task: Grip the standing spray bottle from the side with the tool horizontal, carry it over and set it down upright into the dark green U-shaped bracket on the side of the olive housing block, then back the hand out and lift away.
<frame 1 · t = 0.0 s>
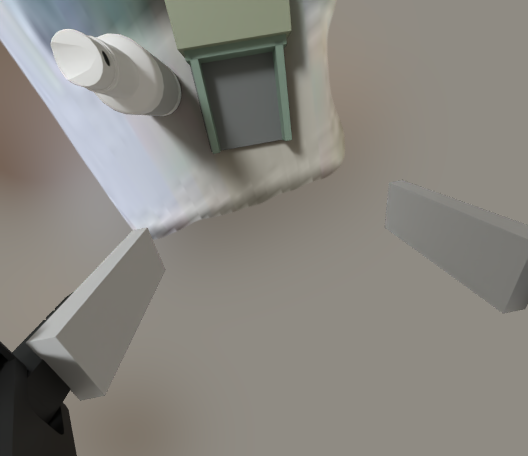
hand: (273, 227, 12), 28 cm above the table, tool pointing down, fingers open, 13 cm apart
spray bottle: (157, 90, 32), on the table
chute bracket: (243, 99, 34), on the table
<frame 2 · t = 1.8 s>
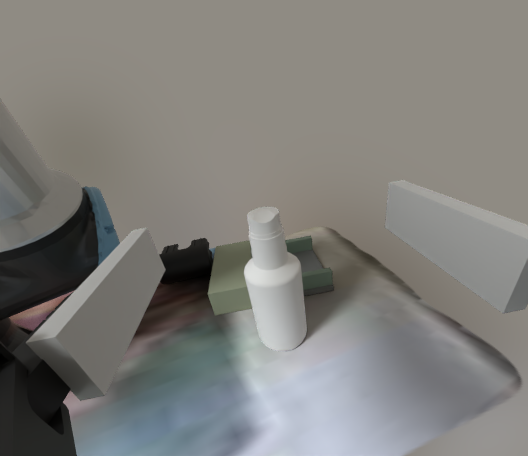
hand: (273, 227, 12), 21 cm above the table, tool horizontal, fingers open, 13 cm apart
spray bottle: (282, 330, 32), on the table
end cap: (192, 276, 46), on the table
chute bracket: (286, 273, 42), on the table
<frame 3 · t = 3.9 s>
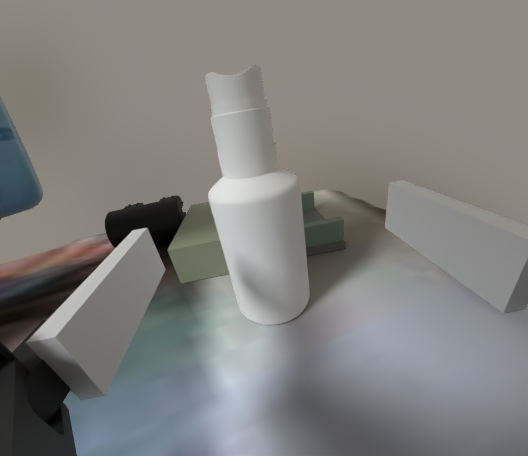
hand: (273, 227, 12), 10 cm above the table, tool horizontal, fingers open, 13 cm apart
spray bottle: (274, 298, 21), on the table
end cap: (161, 244, 36), on the table
chute bracket: (281, 234, 32), on the table
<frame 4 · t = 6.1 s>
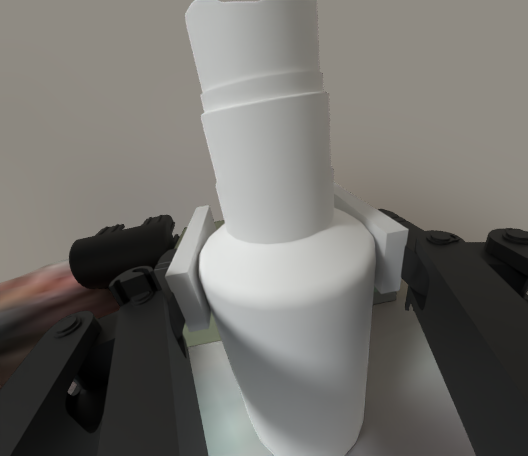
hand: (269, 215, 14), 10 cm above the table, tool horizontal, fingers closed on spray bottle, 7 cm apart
spray bottle: (303, 395, 14), on the table, touching gripper
end cap: (146, 276, 29), on the table
chute bracket: (301, 268, 25), on the table
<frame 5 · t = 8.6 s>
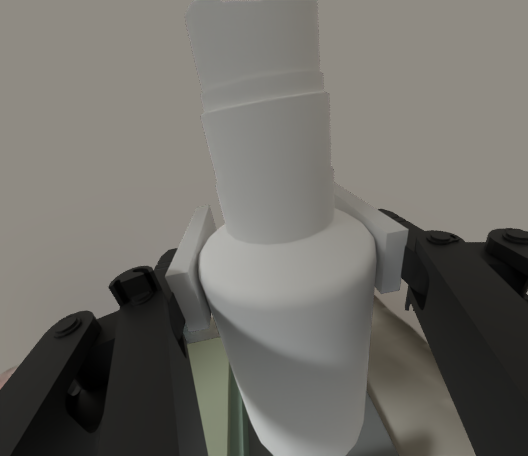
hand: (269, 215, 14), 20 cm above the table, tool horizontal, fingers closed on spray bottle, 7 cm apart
spray bottle: (303, 396, 14), point 10 cm above the table, touching gripper
chute bracket: (302, 417, 21), on the table
when the fingers open (12 cm above the table, at t = 11.2 s): spray bottle drops 1 cm, resting on chute bracket.
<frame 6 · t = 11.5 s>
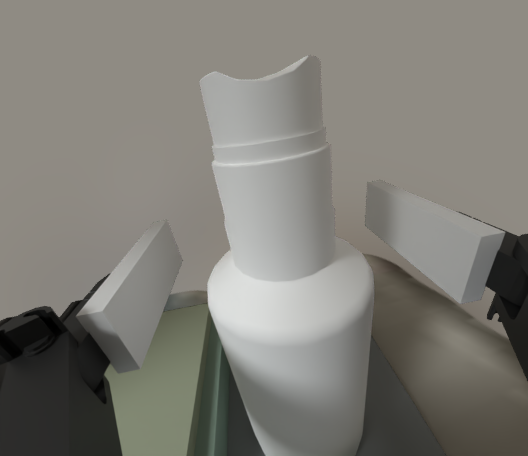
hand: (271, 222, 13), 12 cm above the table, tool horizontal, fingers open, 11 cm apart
spray bottle: (305, 408, 14), point 1 cm above the table, touching chute bracket
chute bracket: (305, 412, 15), on the table
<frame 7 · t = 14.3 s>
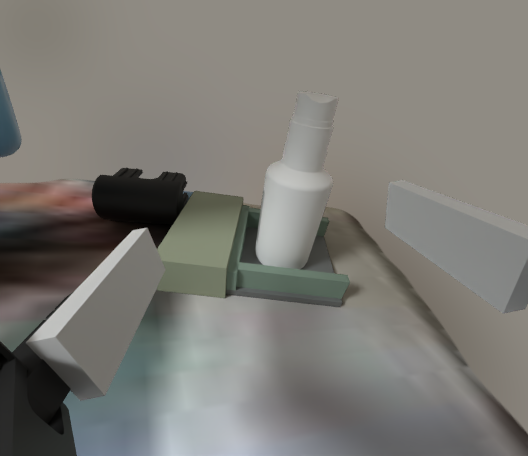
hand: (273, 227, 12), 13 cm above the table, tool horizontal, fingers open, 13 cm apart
spray bottle: (280, 255, 29), point 1 cm above the table, touching chute bracket
end cap: (151, 221, 33), on the table
chute bracket: (280, 258, 30), on the table
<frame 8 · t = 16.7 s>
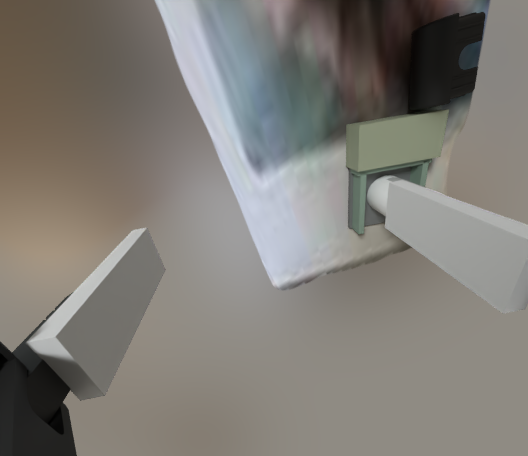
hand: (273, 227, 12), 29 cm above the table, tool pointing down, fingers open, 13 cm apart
spray bottle: (382, 192, 43), point 1 cm above the table, touching chute bracket
end cap: (419, 70, 36), on the table
chute bracket: (381, 191, 44), on the table
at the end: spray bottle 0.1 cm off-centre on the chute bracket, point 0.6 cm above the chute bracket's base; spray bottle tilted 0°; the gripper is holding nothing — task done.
